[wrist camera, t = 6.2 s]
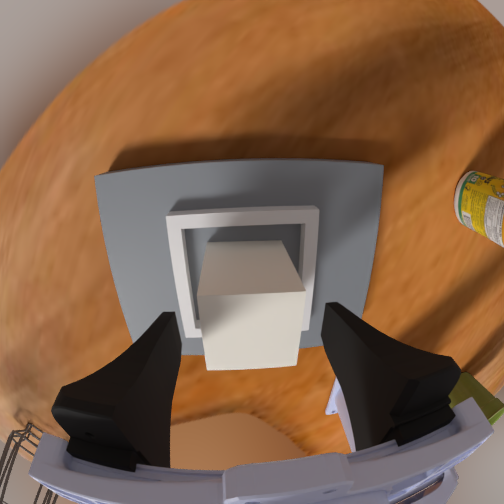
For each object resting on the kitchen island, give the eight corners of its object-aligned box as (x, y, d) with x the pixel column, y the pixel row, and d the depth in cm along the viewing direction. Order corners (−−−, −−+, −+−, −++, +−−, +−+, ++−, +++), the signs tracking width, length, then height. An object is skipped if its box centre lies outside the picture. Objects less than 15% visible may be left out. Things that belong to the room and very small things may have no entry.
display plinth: (369, 162, 17) (392, 167, 14) (347, 326, 23) (360, 348, 20) (107, 171, 16) (86, 178, 13) (142, 338, 21) (134, 362, 19)
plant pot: (421, 395, 30) (451, 449, 20) (478, 349, 28) (514, 394, 18) (426, 416, 35) (449, 459, 24) (475, 378, 33) (502, 417, 22)
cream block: (281, 240, 17) (306, 291, 11) (277, 302, 18) (296, 365, 13) (206, 242, 16) (196, 295, 11) (211, 304, 18) (207, 370, 13)
